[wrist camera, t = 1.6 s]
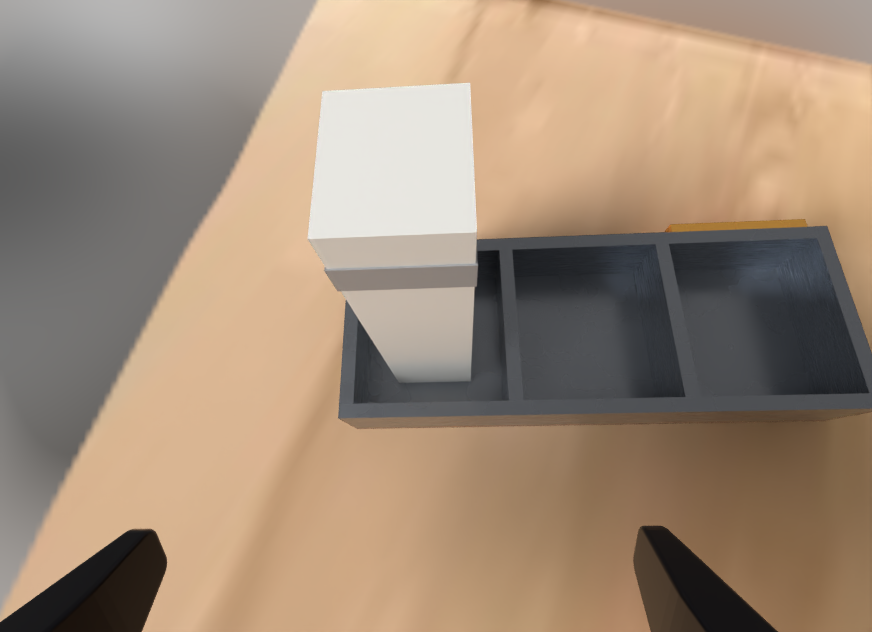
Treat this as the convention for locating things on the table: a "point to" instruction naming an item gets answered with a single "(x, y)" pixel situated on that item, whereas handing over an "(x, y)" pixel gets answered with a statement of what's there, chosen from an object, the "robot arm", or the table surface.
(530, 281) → the rack
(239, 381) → the table surface
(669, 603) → the robot arm
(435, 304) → the white capped pillar
